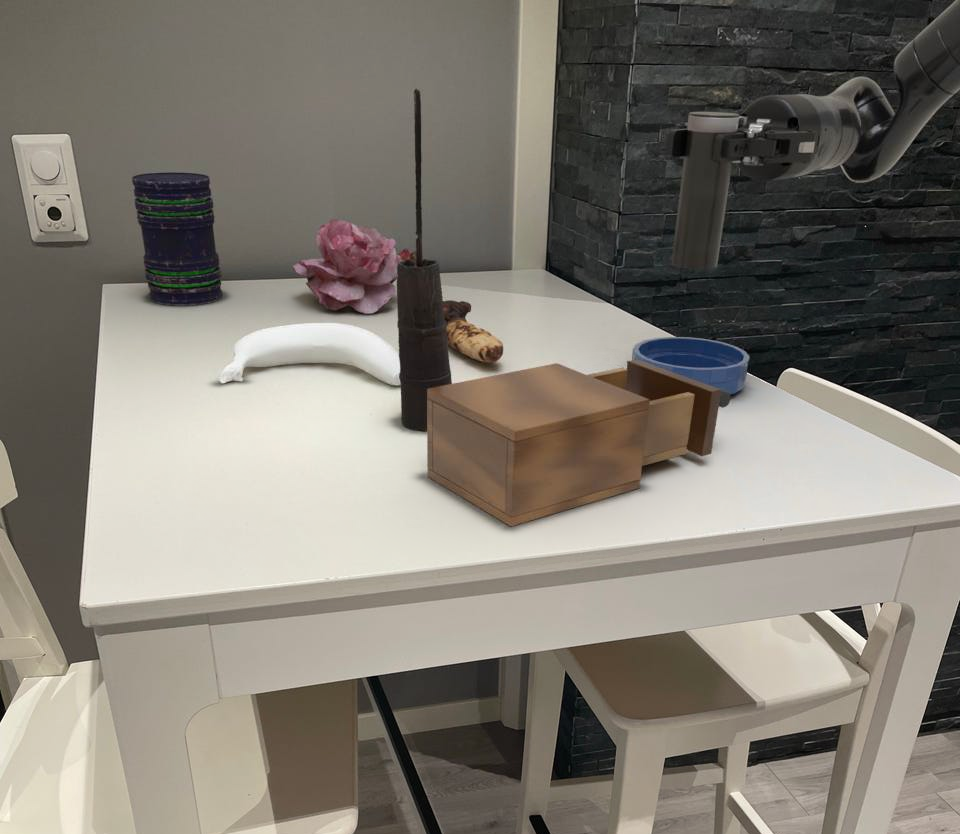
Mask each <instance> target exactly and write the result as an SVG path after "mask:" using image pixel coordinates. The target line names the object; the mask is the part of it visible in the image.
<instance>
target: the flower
mask: <svg viewBox="0 0 960 834" xmlns="http://www.w3.org/2000/svg"><path fill="white" fill-rule="evenodd" d="M315 240H316V241H315V242H316V246H317V248H318V251H319V253H320V255H321V257H322V258H310V259H303V260H302V259H301V260H299V261H298V262H297V263H296V264H293V265H292V268H293V270H294V272H296V273H297V274H298V275H300V276H301V277H304V278H306V280H307V282H305V285H306V286H307V287H308V289H309V290H310V291H311V292H312V294H314V295H315V296H316V298H317V300H318V302H319V304H320V305H322V306H323V307H326V308H327V309H329V310H332V311H337V310H339V309H343V308H345V307H348V306H350V307H351V308H353V309H354V310H355V311H357V312H359V313H360V314H364V315H373V314H374V313H376V312H378V311H379V310H380V309H381V308H382V306H385V305H387V304H388V303H389V301H390V299H391V298H393V297H394V296H395V292H396V285H394V283H395V282H396V281H397V277H398V275H397V265H398V264H397V263H398V262H401V261H404V260H405V259H409V260H411V259H410V251H409V248H403V249H402V250H401V251H400V252H399V253H397V251H396V248H395V247H396V245H397V242H396V240H395V239H394V238H387V237H385V236H383V235H382V234H381V233H380V232H379V231H378V230H377V229H376V228H374V227H372V228H371V227H368V226H364V225H360V226H359V227H358V226H357V225H355V224H354V223H353V222H348V221H346V220H343V219H340V218H338V219H337V218H336V219H334V218H331V219H330V221H329V222H327V223H324V224H322V225H320V227H319V228H318V230H317V235H316V238H315Z"/></svg>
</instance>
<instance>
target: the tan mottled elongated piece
mask: <svg viewBox="0 0 960 834" xmlns="http://www.w3.org/2000/svg"><path fill="white" fill-rule="evenodd" d="M443 307H444V317H445V321H446V325H447V327H446V334H447V343H448V346H450V347H451V348H452V349H455V350H456V351H457V352H459V353H461V354H463V355H465V356H467V357H469V358H470V359H472V360H476V361H478V362H479V361H480V362H482V363H495V362H497V361H499V360H500V359H501V358H502V357H503V354H504V345H503V342H502V341H501V339H499V338H498V337H496V336H495V335H493V334H492V333H491V332H490V331H487V330H486V329H484V328H481V327H477V326H476V325H474V324H472V323H470V322H468V321H467V319H466V317H467V315H468V313H471V312H472V305H471V303H470V302H468V301H465V300H461V301H457V300H453V299H451V300H450V299H449V300H443Z"/></svg>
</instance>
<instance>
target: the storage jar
mask: <svg viewBox="0 0 960 834" xmlns="http://www.w3.org/2000/svg"><path fill="white" fill-rule="evenodd" d="M131 181H132V186H134V189H133V193H134V194H133V195H134V197H135V198H134V200H133V201H134V207H135V210H136V215H137V216H136V219H137V223H138V225H139V226H140V228H141V235H142V242H143V247H144V248H143V249H144V255H143V264H144V268H145V269H144V273H145V274H144V275H145V279H146V281H148V282H147V287H148V289H149V300H150V301H151V302H153V303H155V304H159V305H164V306H165V305H166V306H183V307H184V306H185V307H186V306H199V305H206V304H211V303H215V302H218V301H219V300H221V299H223V291H222V288H221V285H222V280H221V278H222V270H221V267H220V259H219V254H218V253H217V249H216V242H215V241H216V239H215V231H214V223H215V214H214V210H213V209H214V199H213V197H212V190H211V188H210V184H211V180H210V176H209V175H207V174H202V173H196V172H195V173H194V172H173V171H172V172H171V171H170V172H169V171H168V172H150V173H141V174H136V175H133V176H131Z"/></svg>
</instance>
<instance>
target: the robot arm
mask: <svg viewBox="0 0 960 834" xmlns="http://www.w3.org/2000/svg"><path fill="white" fill-rule="evenodd" d="M893 75H894V80H895V84H896V88H897V93H898V105H897V108H896V111H894V109H893V108H892V105H891V104H890V102H889V101H888V99H887V98H886V96H885V94H884V92H883V89H881V87H880V86H879V85H878V84H877V83H876V81H874V80H873V79H871V78H869V77H867V76H856V77H853V78H851V79H848V80H847V81H845V82H844V83H842V84H841V85H839V86H838V87H837V88H835V90H833V91H832V92H831V93H829V94H827V95H817V96H816V95H812V94H807V93H800V94H797V93H796V94H773V95H766V96H761V97H759V98H757V99H755V100H754V101H753V102H751V103H750V104H749V105H748V106H746V108H745V109H744V110H743V112H741V114H740V115H739V123H738V130H737V133H727V134H718V135H717V136H716V139H715V145H714V152H713V161H714V162H721V163H722V162H731V161H732V164H736V165H737V167H738V168H739V170H740V171H741V172H742V173H743V174H744V175H745V176H746V177H748V178H750V179H751V180H754V181H757V182H771V181H777V180H778V181H779V180H785V179H791V178H797V177H803V176H805V175H808V174H811V173H813V172H820V171H826V170H832V169H835V168H838V167H840V169H841V170H842V172H843V173H844V175H845V176H846V177H847V179H849V180H850V181H852V182H854V183H858V184H859V183H868V182H872V181H875V180H877V179H879V178H881V177H882V176H883V175H885V174H886V173H887V172H888V171H890V170H891V169H892V168H893V167H894V166H895V165H896V164H897V162H898V161H899V160H900V159H901V158H902V156H903V155H904V154H905V152H906V151H907V150H908V148H910V146H911V144H912V143H913V142H914V140H915V139H916V137H917V136H918V134H920V132H921V131H922V129H923V128H924V127H925V125H926V124H927V123H928V122H929V121H930V119H932V117H933V116H934V115H935V114H936V113H937V111H938V110H940V108H941V107H942V106H943V105H944V104H945V103H946V102H947V101H948V100H949V99H950V98H952V97H953V96H954V95H955V94H956V93H957V92H959V91H960V0H954V1H953V2H952V3H951V4H950V5H949V6H948V7H947V8H946V9H945V10H944V11H942V12H941V13H940V14H939V15H938V16H937V17H936V18H934V20H933V21H931V23H929V24H928V25H927V26H926V27H925V28H924V29H923V30H922V31H921V32H920V33H919V34H918V35H916V36H915V37H914V38H913V39H912V40H911V41H910V42H909V43H908V44H907V45H905V47H903V48H902V50H901V51H900V52H899V53H898V54H897V56H896V57H895V59H894V62H893ZM687 126H688V121H687V122H679V123H677V124H675V129H670V130H669V131H668V133H667V134H666V138H665V139H666V140H665V146H664V147H665V149H664V151H665V156H666V157H669V158H680V157H684V155H685V147H686V138H687Z"/></svg>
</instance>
